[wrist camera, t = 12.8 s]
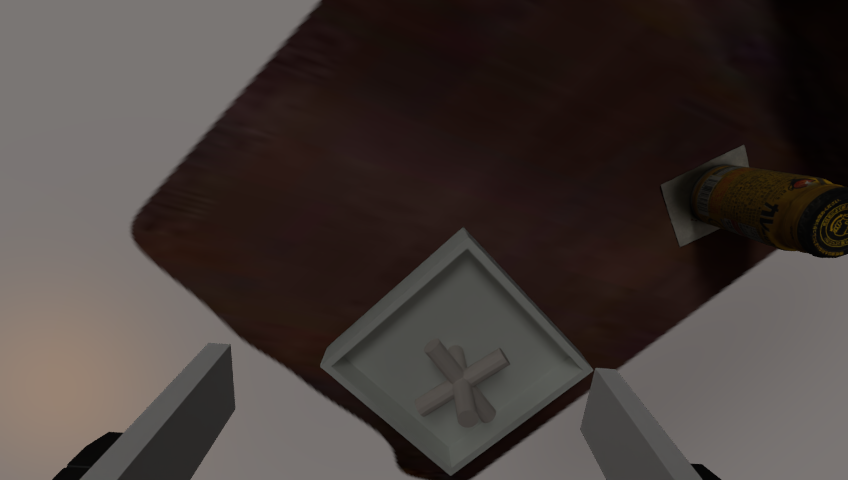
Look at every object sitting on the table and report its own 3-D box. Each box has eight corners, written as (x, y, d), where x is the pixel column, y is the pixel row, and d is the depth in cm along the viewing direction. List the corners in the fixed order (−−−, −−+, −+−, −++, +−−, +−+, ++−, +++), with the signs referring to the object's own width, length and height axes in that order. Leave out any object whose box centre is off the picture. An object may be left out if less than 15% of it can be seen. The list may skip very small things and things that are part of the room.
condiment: (758, 209, 40) (898, 245, 28) (678, 246, 41) (783, 295, 29) (742, 144, 38) (885, 154, 26) (658, 184, 39) (761, 210, 27)
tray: (463, 226, 39) (468, 236, 36) (579, 351, 44) (593, 370, 41) (327, 347, 43) (319, 366, 40) (448, 451, 48) (450, 475, 44)
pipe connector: (517, 360, 43) (547, 428, 34) (443, 405, 45) (452, 482, 35) (468, 294, 41) (485, 347, 31) (391, 344, 42) (386, 409, 33)
